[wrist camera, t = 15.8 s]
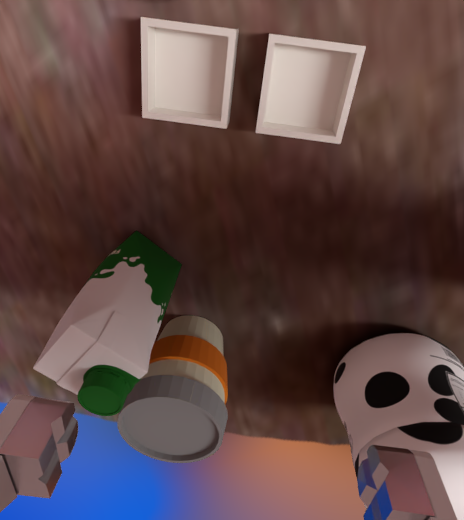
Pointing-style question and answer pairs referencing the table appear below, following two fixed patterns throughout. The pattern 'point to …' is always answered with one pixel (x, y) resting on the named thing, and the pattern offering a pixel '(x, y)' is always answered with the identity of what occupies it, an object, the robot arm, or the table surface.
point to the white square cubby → (187, 71)
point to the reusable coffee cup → (179, 395)
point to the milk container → (405, 402)
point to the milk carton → (112, 326)
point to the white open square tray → (308, 87)
